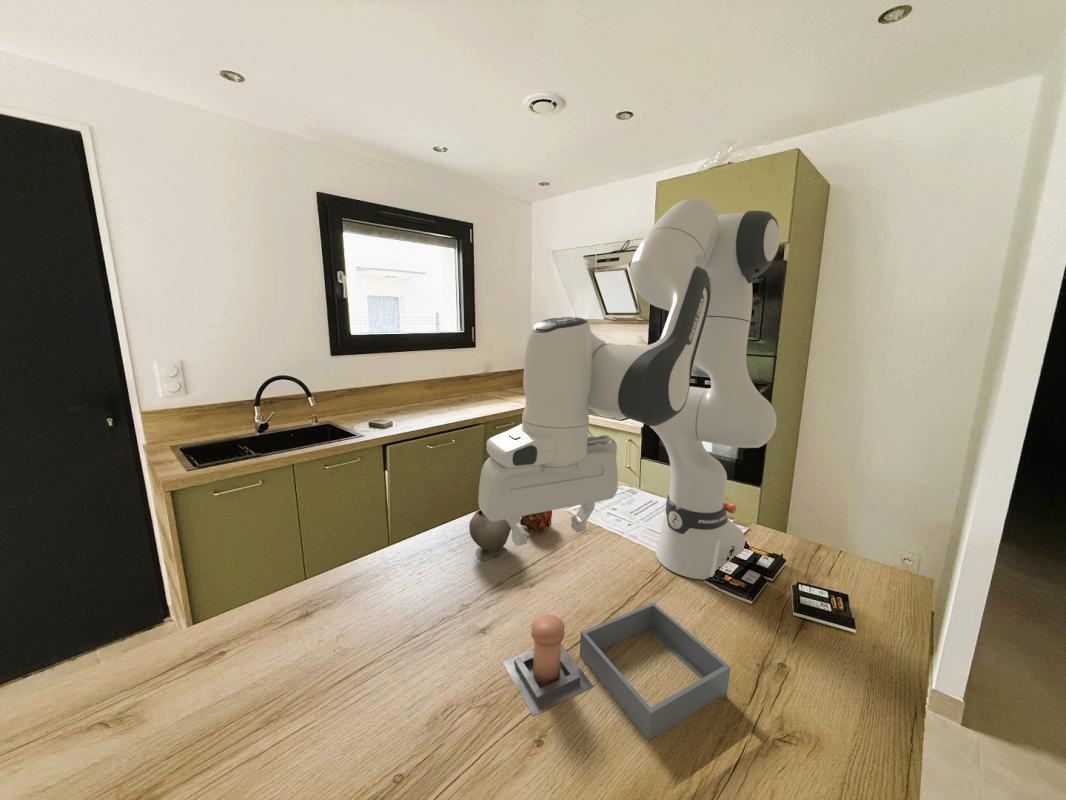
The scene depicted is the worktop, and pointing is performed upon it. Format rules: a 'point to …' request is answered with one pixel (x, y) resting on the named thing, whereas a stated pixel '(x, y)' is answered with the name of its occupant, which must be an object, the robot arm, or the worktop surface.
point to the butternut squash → (547, 648)
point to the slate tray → (680, 644)
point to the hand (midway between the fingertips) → (549, 536)
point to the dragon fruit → (537, 521)
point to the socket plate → (546, 695)
